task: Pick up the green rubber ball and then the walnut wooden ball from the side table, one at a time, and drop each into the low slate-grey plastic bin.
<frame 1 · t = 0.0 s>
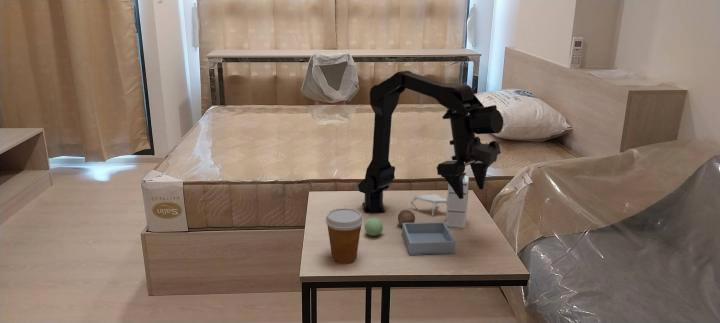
hand: (471, 193, 138), 15 cm above the table, tool pointing down, fingers open, 9 cm apart
disposable coffee cup: (344, 258, 137), on the table
origami figure: (429, 212, 165), on the table
syrup box: (455, 224, 157), on the table
walnut ball: (405, 226, 155), on the table
bin: (427, 243, 145), on the table
green ball: (373, 235, 149), on the table
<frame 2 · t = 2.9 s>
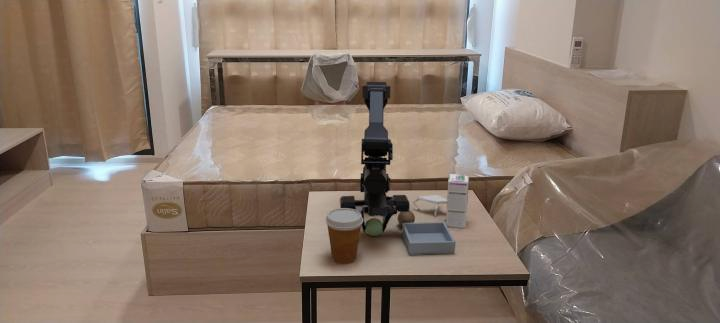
hand: (373, 231, 149), 1 cm above the table, tool pointing down, fingers closed on green ball, 5 cm apart
green ball: (373, 235, 149), on the table, touching gripper
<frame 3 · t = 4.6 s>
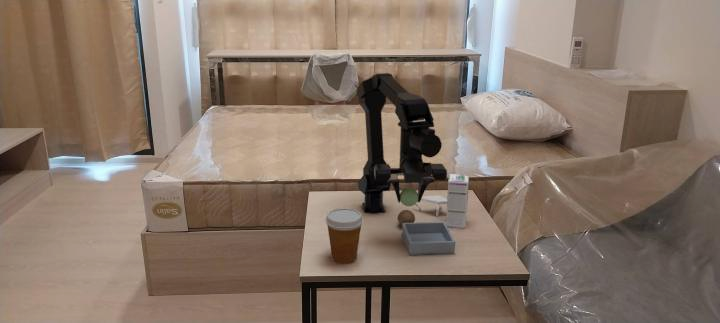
hand: (408, 202, 143), 11 cm above the table, tool pointing down, fingers closed on green ball, 5 cm apart
green ball: (408, 205, 143), point 10 cm above the table, touching gripper
when the fingers open (5 cm above the table, at t = 6.3 s): green ball drops 3 cm, resting on bin.
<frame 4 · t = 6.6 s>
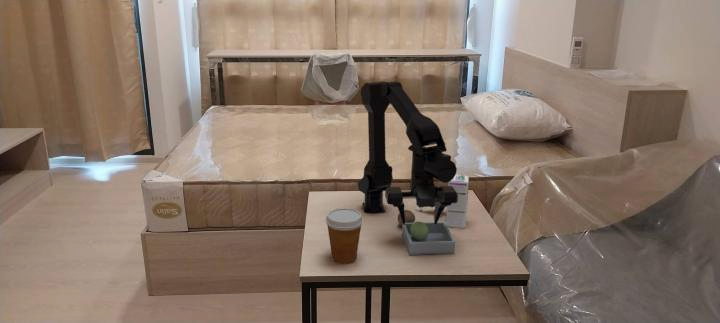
hand: (419, 224, 145), 5 cm above the table, tool pointing down, fingers open, 8 cm apart
green ball: (418, 239, 146), resting on bin
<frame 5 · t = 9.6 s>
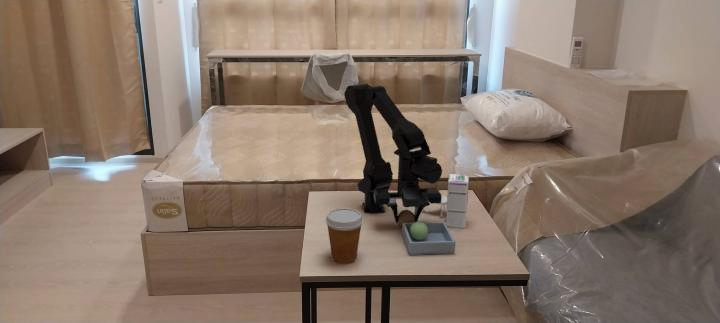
hand: (406, 223, 155), 1 cm above the table, tool pointing down, fingers closed on walnut ball, 5 cm apart
walnut ball: (405, 226, 155), on the table, touching gripper
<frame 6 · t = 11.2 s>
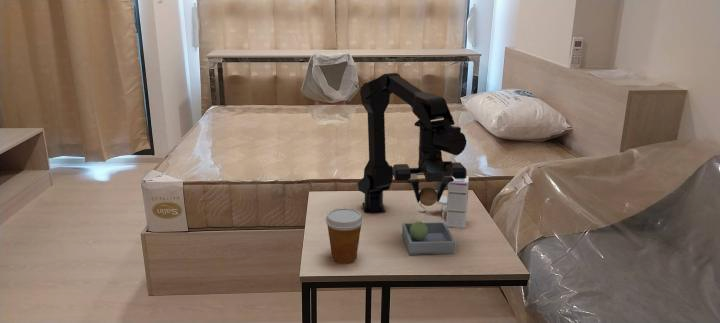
hand: (427, 201, 142), 12 cm above the table, tool pointing down, fingers closed on walnut ball, 5 cm apart
walnut ball: (427, 205, 143), point 11 cm above the table, touching gripper
when the fingers open (5 cm above the table, at t = 12.9 s): walnut ball drops 4 cm, resting on bin.
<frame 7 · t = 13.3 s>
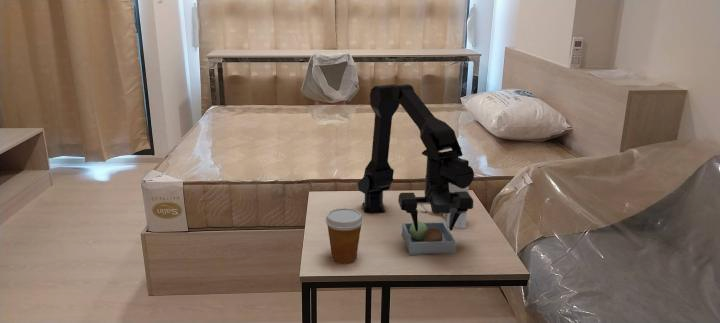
hand: (433, 230, 142), 5 cm above the table, tool pointing down, fingers open, 9 cm apart
walnut ball: (432, 245, 143), resting on bin
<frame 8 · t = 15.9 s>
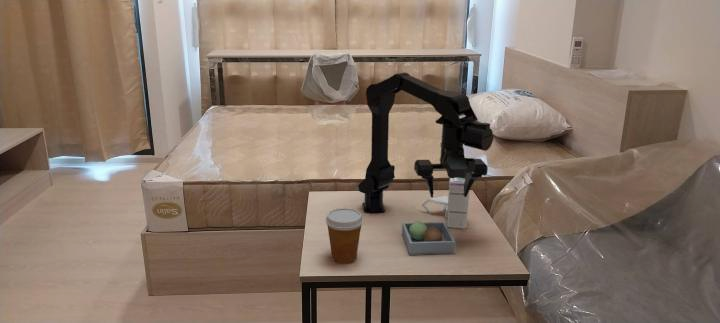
hand: (448, 196, 145), 12 cm above the table, tool pointing down, fingers open, 9 cm apart
at the end: green ball inside the target area on the bin (2.8 cm from its centre), point 0.5 cm above the bin's base; walnut ball inside the target area on the bin (2.2 cm from its centre), point 0.5 cm above the bin's base; the gripper is holding nothing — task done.
